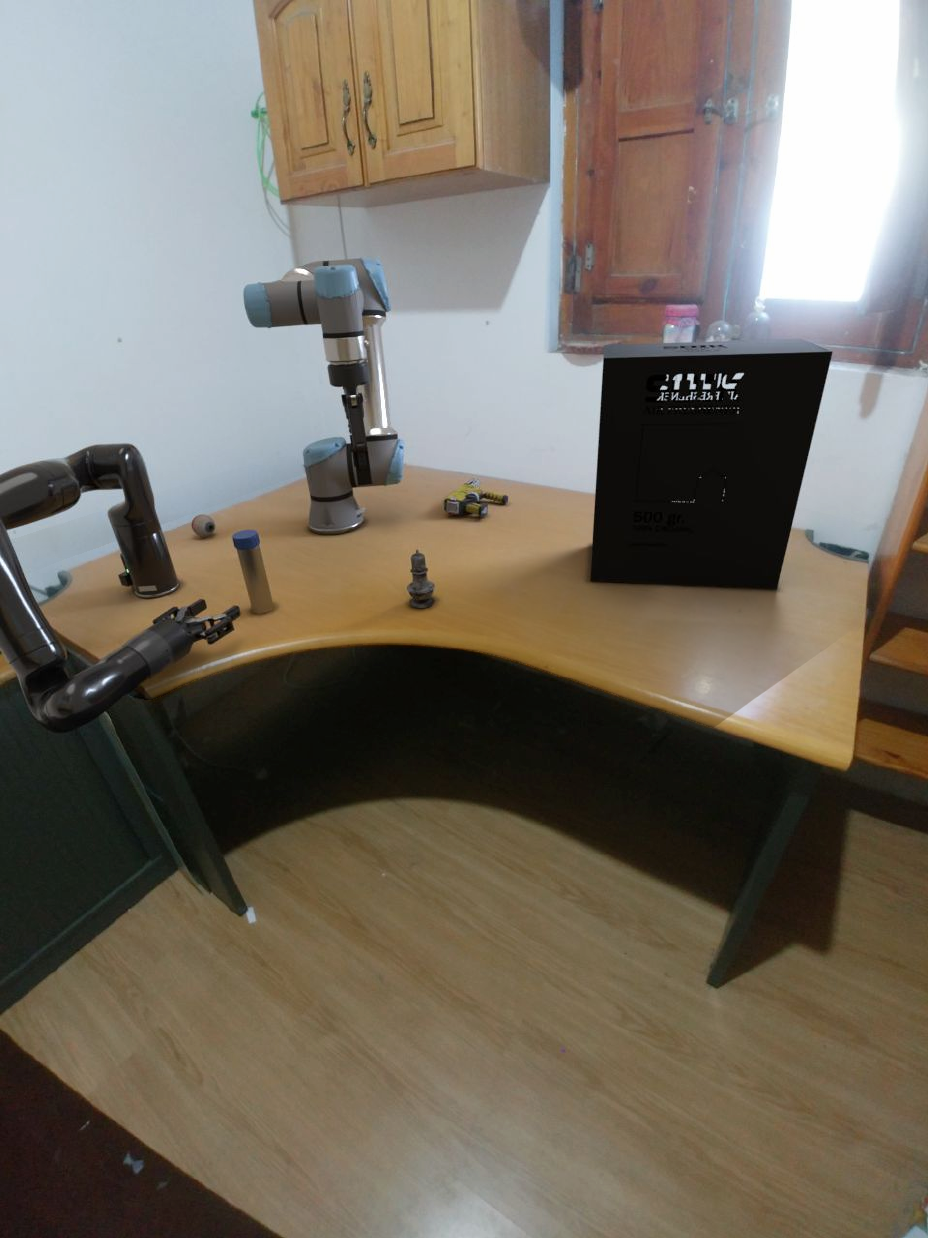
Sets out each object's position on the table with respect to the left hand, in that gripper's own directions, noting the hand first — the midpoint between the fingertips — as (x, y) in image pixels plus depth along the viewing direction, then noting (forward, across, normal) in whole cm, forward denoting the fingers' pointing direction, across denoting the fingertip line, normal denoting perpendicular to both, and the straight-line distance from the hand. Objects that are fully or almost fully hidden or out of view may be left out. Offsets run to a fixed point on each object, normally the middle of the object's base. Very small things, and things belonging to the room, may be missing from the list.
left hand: (221, 606), depth 117 cm
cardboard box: (+56, -79, +6) cm, 98 cm away
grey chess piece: (+23, -32, +6) cm, 40 cm away
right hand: (+27, -19, -19) cm, 38 cm away
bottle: (+10, 0, +6) cm, 12 cm away
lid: (+11, 0, -10) cm, 15 cm away
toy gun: (+83, -22, +6) cm, 86 cm away
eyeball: (+40, +43, +6) cm, 59 cm away
